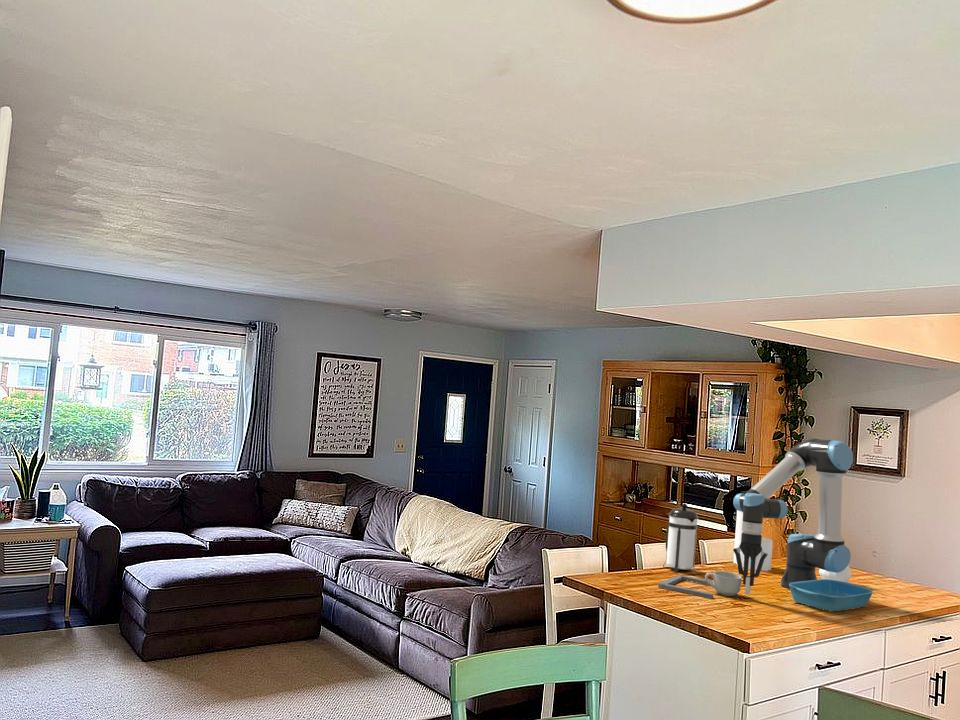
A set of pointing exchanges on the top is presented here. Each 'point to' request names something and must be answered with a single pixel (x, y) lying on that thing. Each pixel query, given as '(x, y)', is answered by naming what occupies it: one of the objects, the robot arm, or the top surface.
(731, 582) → the teacup
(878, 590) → the top surface
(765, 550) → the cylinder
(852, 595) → the casserole dish
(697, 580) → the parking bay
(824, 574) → the cup
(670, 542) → the coffee press
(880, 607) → the top surface
